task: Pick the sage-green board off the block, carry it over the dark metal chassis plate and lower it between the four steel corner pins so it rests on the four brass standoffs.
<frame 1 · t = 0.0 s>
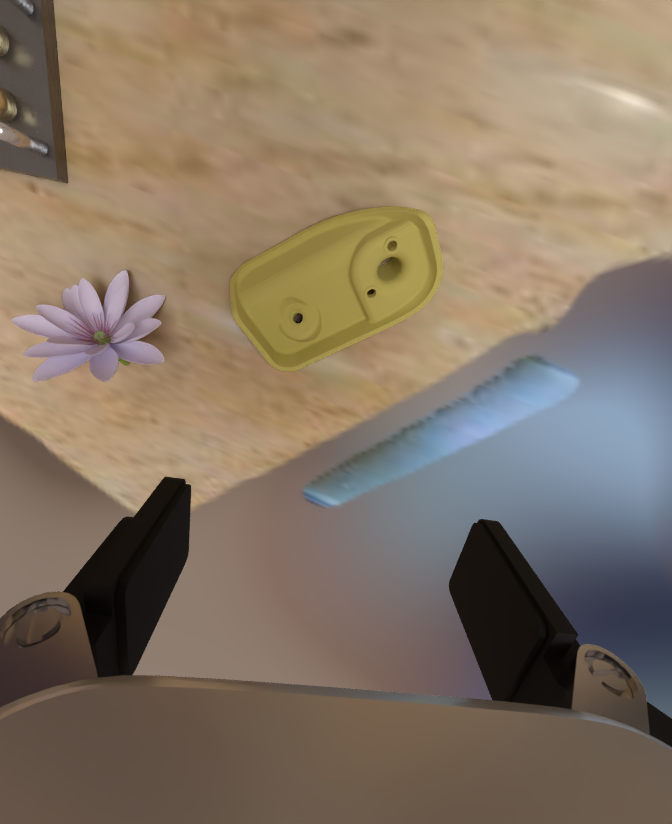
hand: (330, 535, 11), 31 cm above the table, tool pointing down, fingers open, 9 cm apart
plastic component: (334, 290, 39), on the table
water lily: (128, 318, 39), on the table
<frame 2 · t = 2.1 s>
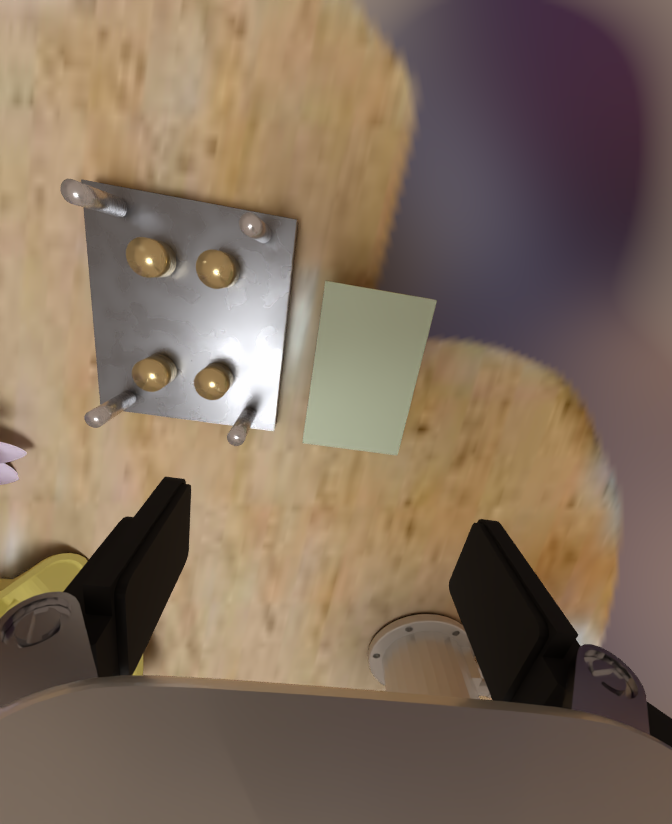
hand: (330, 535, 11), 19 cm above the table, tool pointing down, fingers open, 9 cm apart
chassis: (197, 319, 27), on the table
plastic component: (85, 619, 39), on the table
board: (361, 369, 25), point 4 cm above the table, touching block
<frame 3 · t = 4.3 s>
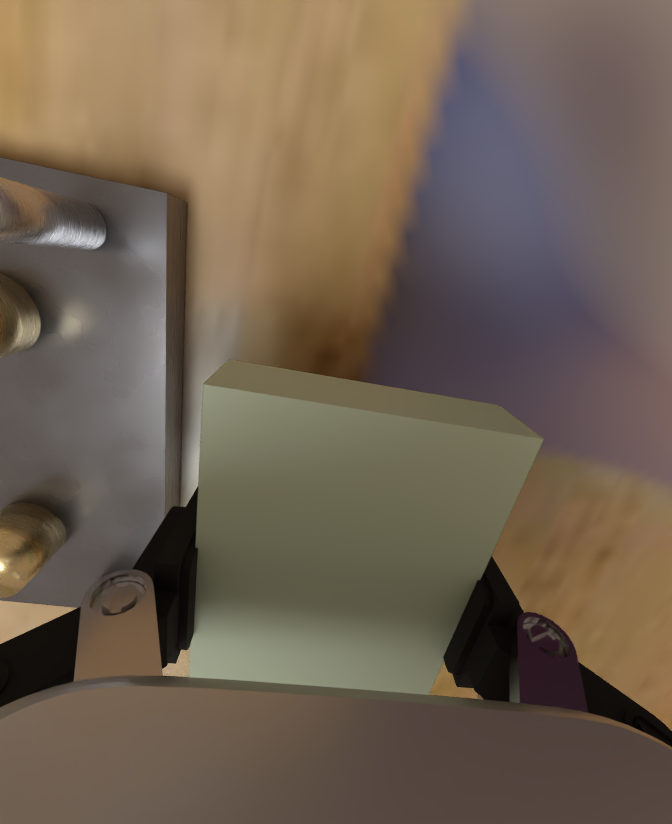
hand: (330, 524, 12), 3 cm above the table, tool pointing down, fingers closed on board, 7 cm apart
board: (330, 550, 11), point 4 cm above the table, touching gripper, block
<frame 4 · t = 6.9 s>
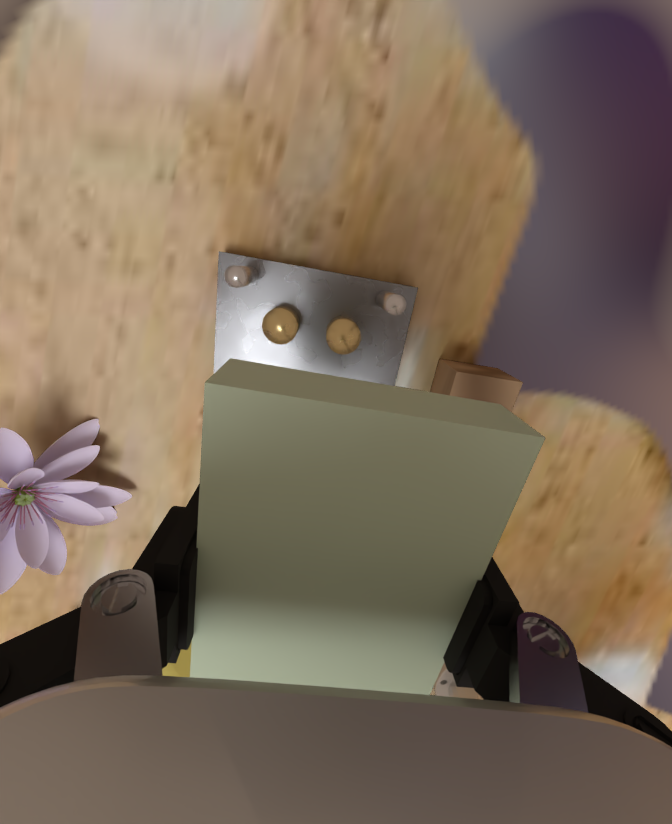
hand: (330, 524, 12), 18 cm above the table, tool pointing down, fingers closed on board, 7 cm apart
block: (454, 408, 30), on the table
chassis: (306, 374, 29), on the table
plastic component: (160, 651, 41), on the table
board: (331, 550, 11), point 19 cm above the table, touching gripper
water lily: (80, 475, 32), on the table
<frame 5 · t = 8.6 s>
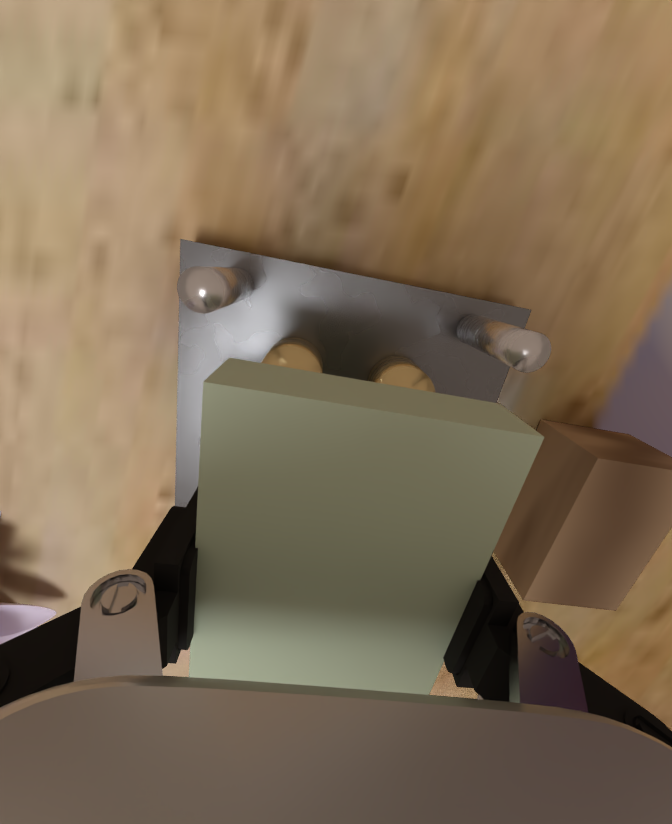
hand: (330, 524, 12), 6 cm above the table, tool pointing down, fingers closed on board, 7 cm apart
block: (553, 491, 20), on the table
chassis: (328, 440, 18), on the table
board: (331, 549, 11), point 8 cm above the table, touching gripper
when the fingers open (4 cm above the table, at t = 9.6 s): board drops 1 cm, resting on chassis.
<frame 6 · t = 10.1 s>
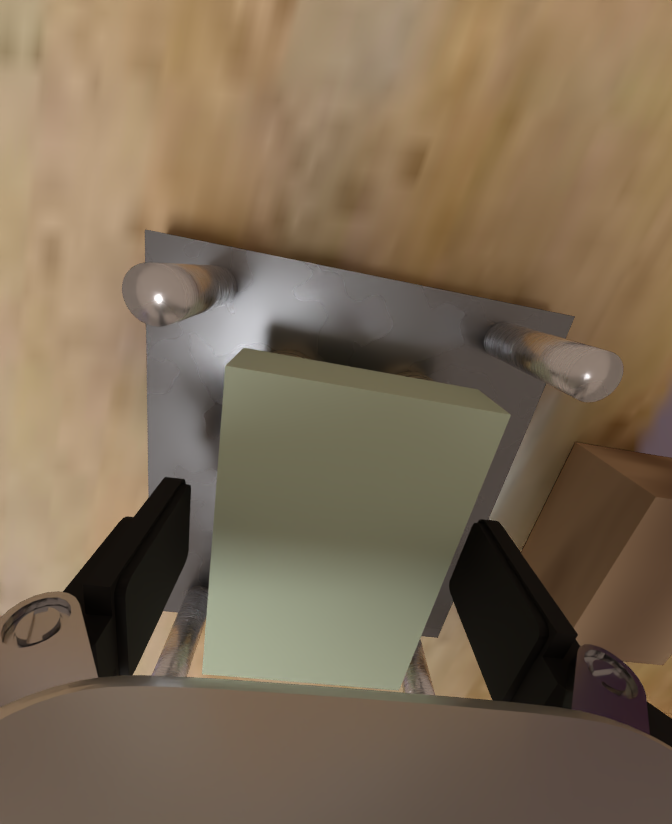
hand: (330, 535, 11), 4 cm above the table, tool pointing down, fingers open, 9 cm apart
block: (586, 521, 17), on the table
chassis: (328, 466, 15), on the table
board: (330, 520, 12), point 3 cm above the table, touching chassis
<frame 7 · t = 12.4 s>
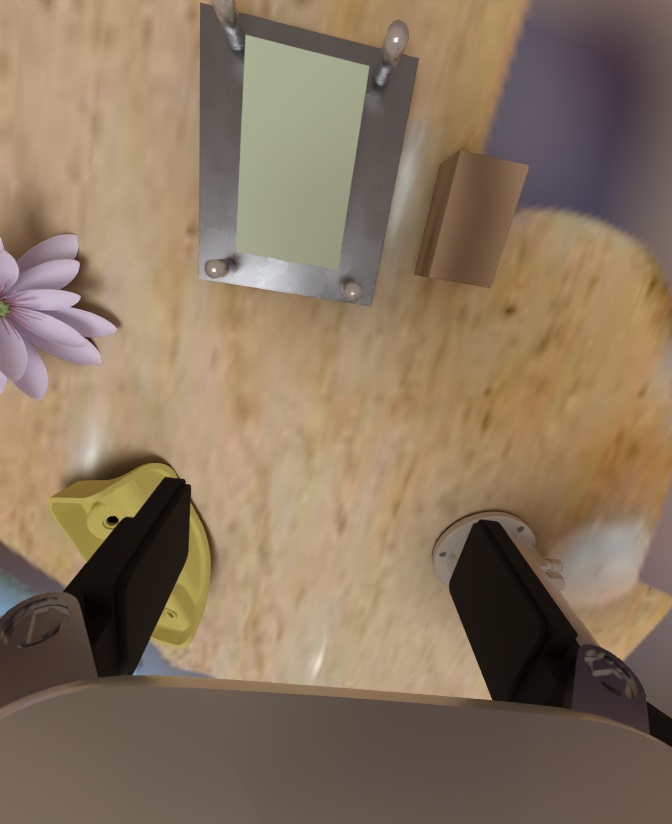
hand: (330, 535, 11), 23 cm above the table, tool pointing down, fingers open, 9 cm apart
block: (455, 228, 29), on the table
chassis: (299, 182, 27), on the table
plastic component: (151, 533, 40), on the table
board: (298, 173, 24), point 3 cm above the table, touching chassis
water lily: (59, 309, 30), on the table
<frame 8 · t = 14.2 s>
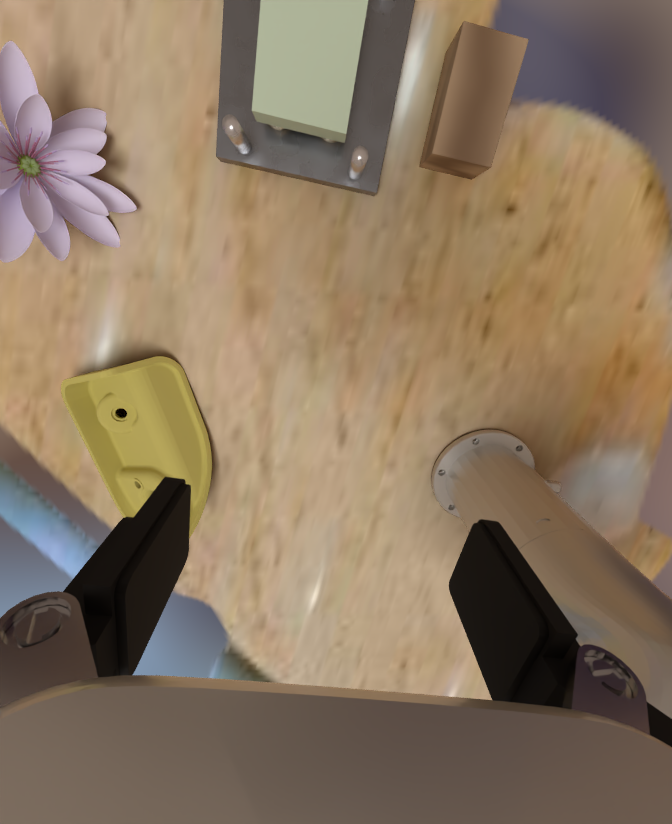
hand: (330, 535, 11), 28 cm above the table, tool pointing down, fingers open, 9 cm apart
block: (459, 119, 30), on the table
chassis: (313, 66, 29), on the table
plastic component: (156, 439, 41), on the table
board: (312, 41, 26), point 3 cm above the table, touching chassis
water lily: (84, 189, 32), on the table
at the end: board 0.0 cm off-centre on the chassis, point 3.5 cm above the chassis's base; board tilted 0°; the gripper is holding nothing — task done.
